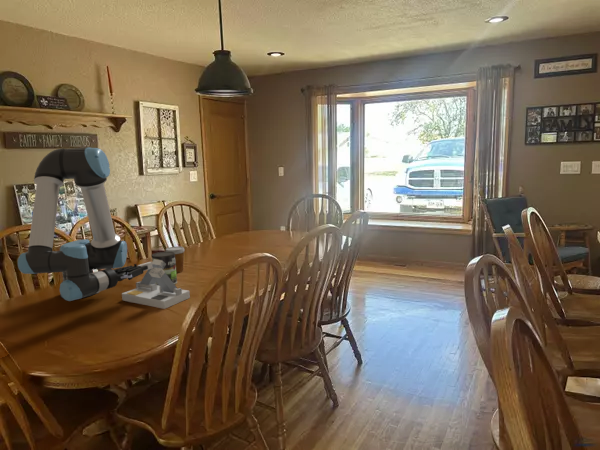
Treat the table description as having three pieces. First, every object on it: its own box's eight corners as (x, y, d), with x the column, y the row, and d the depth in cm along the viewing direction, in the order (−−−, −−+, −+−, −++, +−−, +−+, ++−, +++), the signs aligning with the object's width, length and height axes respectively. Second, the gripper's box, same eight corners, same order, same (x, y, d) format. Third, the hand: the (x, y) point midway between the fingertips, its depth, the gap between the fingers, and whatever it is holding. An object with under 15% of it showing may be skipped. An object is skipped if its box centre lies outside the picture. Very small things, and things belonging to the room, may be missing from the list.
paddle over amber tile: (137, 284, 183) (152, 259, 190) (141, 288, 186) (156, 262, 192) (148, 286, 180) (164, 260, 187) (153, 290, 182) (167, 264, 189)
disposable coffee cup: (163, 273, 219) (160, 249, 217) (175, 268, 227) (173, 245, 225) (178, 274, 215) (176, 250, 213) (190, 269, 224) (188, 246, 222)
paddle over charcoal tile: (163, 292, 178) (146, 272, 170) (167, 287, 180) (151, 266, 172) (175, 294, 175) (159, 274, 166) (179, 289, 176) (163, 268, 168)
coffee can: (181, 280, 205) (179, 251, 202) (170, 287, 195) (168, 256, 192) (161, 279, 207) (158, 251, 204) (149, 286, 197) (147, 256, 195)
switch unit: (122, 300, 179) (121, 287, 178) (148, 290, 191) (147, 278, 190) (164, 308, 168) (163, 295, 167) (190, 297, 180) (189, 285, 179)
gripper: (93, 287, 168) (141, 271, 189) (115, 291, 162) (163, 275, 182) (90, 268, 167) (139, 255, 187) (113, 272, 161) (161, 257, 181)
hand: (151, 264), depth 185 cm, fingers closed
